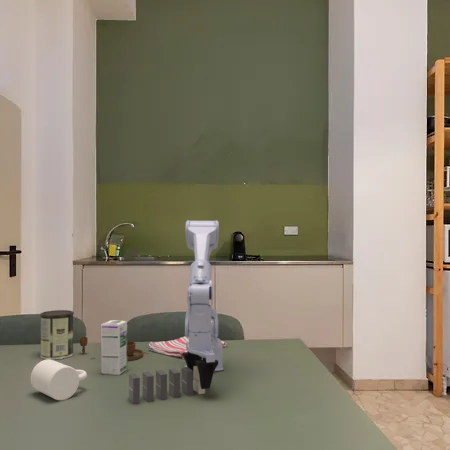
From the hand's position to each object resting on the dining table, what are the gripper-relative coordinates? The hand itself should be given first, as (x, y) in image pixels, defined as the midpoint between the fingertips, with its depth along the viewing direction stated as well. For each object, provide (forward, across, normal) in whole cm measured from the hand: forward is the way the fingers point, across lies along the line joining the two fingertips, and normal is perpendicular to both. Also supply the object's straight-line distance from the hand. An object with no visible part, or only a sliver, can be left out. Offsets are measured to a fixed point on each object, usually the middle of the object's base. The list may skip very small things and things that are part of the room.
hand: (199, 383), depth 125 cm
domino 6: (+2, 0, 0) cm, 2 cm away
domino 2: (+2, 0, +14) cm, 14 cm away
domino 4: (+2, 0, +7) cm, 7 cm away
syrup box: (+2, +26, +16) cm, 31 cm away
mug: (+2, +13, +32) cm, 35 cm away
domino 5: (+2, 0, +3) cm, 4 cm away
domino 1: (+2, 0, +17) cm, 17 cm away
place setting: (+3, +45, +11) cm, 47 cm away
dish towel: (+3, +44, -14) cm, 46 cm away
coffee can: (+2, +52, +29) cm, 60 cm away
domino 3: (+2, 0, +10) cm, 10 cm away
